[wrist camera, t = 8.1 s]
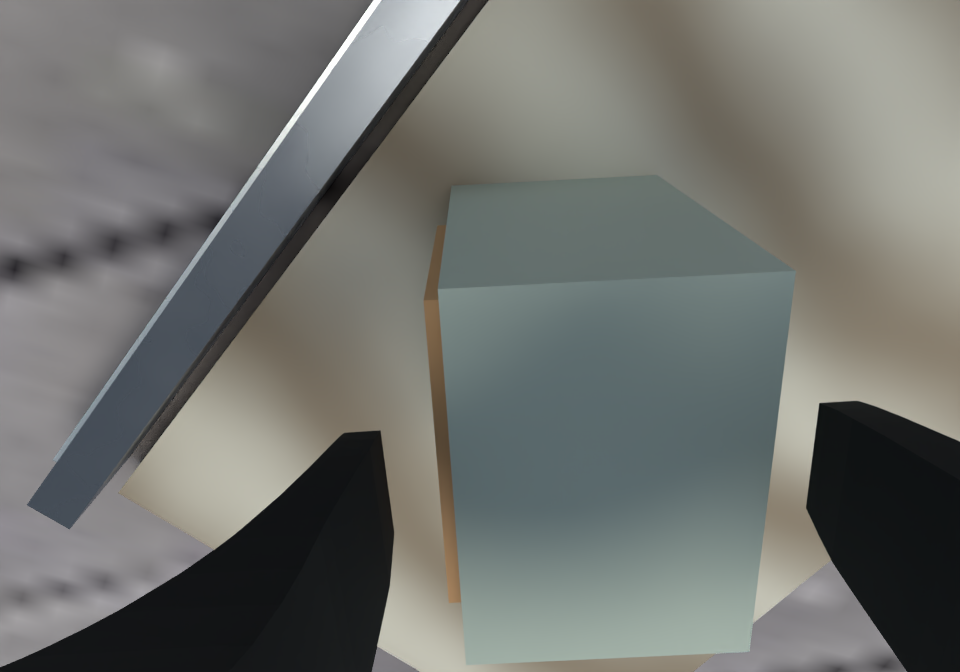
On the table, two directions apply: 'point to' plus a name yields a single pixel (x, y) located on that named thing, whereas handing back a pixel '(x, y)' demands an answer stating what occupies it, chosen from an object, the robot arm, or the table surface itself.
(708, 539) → the carton
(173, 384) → the rail
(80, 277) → the table surface
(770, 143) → the shelf board
